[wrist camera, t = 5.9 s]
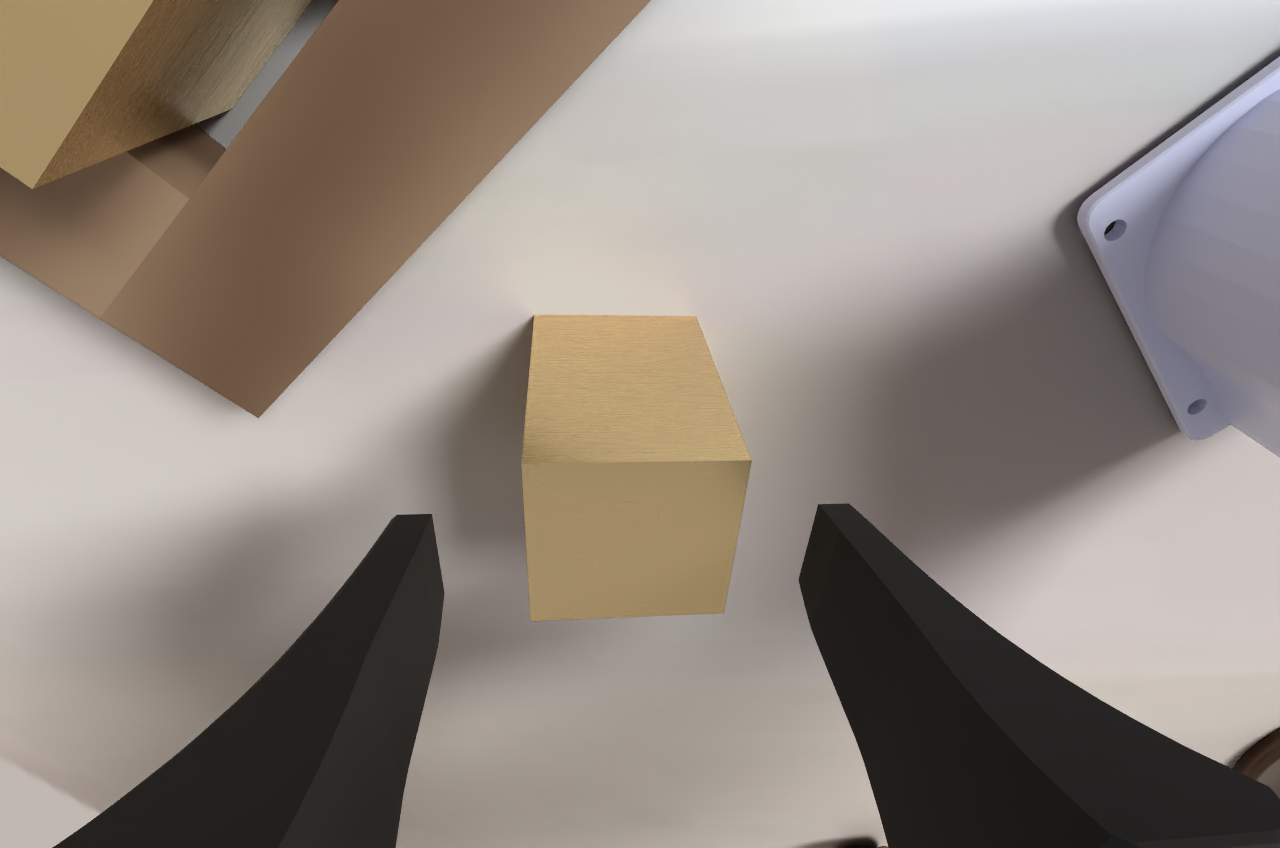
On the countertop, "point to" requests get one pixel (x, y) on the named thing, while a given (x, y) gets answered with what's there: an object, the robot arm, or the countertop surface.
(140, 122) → the block
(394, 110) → the wooden socket board
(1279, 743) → the candlestick
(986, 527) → the countertop surface
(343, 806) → the robot arm
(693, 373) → the loose billet
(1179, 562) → the countertop surface
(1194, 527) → the countertop surface
